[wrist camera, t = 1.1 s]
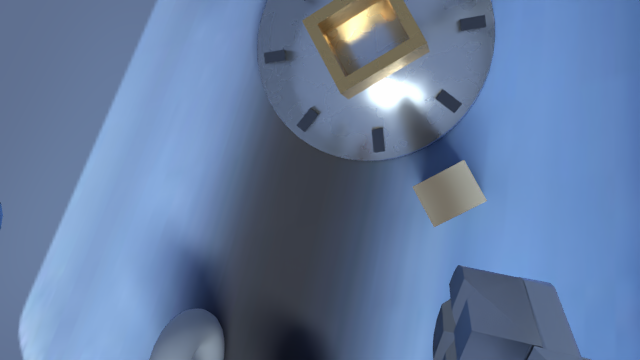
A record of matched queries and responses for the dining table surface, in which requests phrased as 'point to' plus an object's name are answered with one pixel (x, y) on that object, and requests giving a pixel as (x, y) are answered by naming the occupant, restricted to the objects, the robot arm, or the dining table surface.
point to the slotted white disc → (374, 70)
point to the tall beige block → (449, 193)
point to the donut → (190, 338)
